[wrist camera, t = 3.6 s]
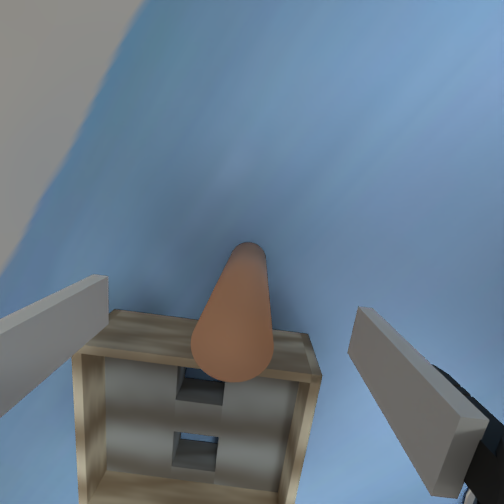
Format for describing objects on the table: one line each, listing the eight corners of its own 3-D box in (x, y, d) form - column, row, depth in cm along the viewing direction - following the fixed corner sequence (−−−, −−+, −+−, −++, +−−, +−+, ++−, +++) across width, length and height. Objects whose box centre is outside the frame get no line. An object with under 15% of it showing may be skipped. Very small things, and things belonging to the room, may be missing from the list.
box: (114, 309, 25) (70, 343, 19) (307, 333, 25) (322, 375, 19) (115, 447, 29) (79, 509, 24) (281, 468, 29) (287, 536, 23)
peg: (232, 240, 23) (193, 303, 10) (268, 244, 23) (279, 314, 10) (228, 274, 24) (188, 376, 10) (263, 278, 24) (267, 387, 10)
